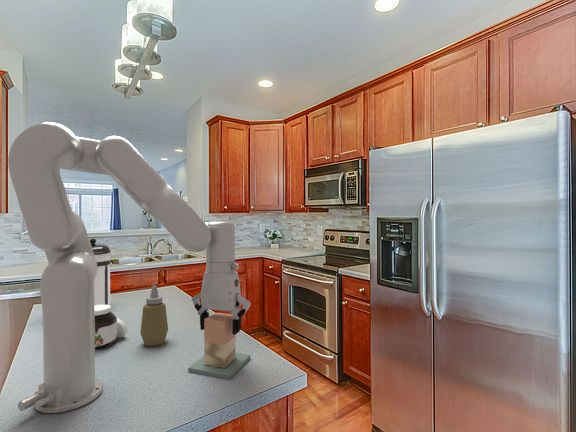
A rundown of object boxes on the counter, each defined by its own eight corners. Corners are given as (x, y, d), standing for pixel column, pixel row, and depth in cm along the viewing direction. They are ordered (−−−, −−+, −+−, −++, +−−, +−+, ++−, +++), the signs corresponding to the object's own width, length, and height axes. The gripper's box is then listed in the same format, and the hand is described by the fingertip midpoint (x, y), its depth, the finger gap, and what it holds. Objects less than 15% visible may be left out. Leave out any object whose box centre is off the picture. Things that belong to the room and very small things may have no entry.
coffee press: (92, 304, 142) (91, 236, 141) (122, 307, 137) (122, 237, 137) (54, 317, 125) (53, 239, 125) (86, 321, 121) (86, 241, 120)
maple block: (235, 358, 89) (235, 336, 89) (224, 368, 84) (224, 345, 83) (216, 354, 91) (216, 333, 91) (204, 364, 85) (204, 341, 85)
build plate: (229, 379, 80) (229, 375, 80) (188, 371, 84) (188, 367, 84) (250, 358, 91) (250, 355, 91) (213, 352, 95) (213, 348, 95)
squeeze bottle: (140, 340, 104) (140, 284, 103) (167, 336, 107) (167, 282, 107) (140, 350, 96) (139, 290, 96) (168, 345, 99) (168, 287, 99)
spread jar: (74, 351, 95) (74, 312, 95) (91, 336, 106) (91, 301, 106) (118, 349, 97) (117, 310, 97) (130, 334, 108) (130, 300, 108)
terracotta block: (224, 345, 83) (224, 321, 83) (204, 341, 85) (204, 319, 85) (235, 336, 89) (235, 314, 89) (216, 333, 91) (216, 312, 91)
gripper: (255, 266, 88) (255, 329, 88) (200, 263, 93) (200, 322, 93) (243, 271, 81) (243, 340, 81) (184, 267, 86) (184, 331, 86)
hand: (220, 330), depth 87 cm, fingers open, 9 cm apart
